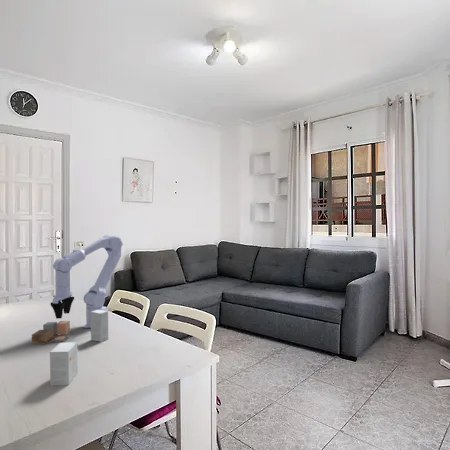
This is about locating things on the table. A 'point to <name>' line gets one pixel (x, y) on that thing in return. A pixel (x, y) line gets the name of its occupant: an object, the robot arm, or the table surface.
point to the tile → (60, 339)
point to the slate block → (50, 326)
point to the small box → (63, 363)
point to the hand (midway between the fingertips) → (62, 315)
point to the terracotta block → (63, 327)
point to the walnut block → (42, 336)
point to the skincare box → (99, 325)
